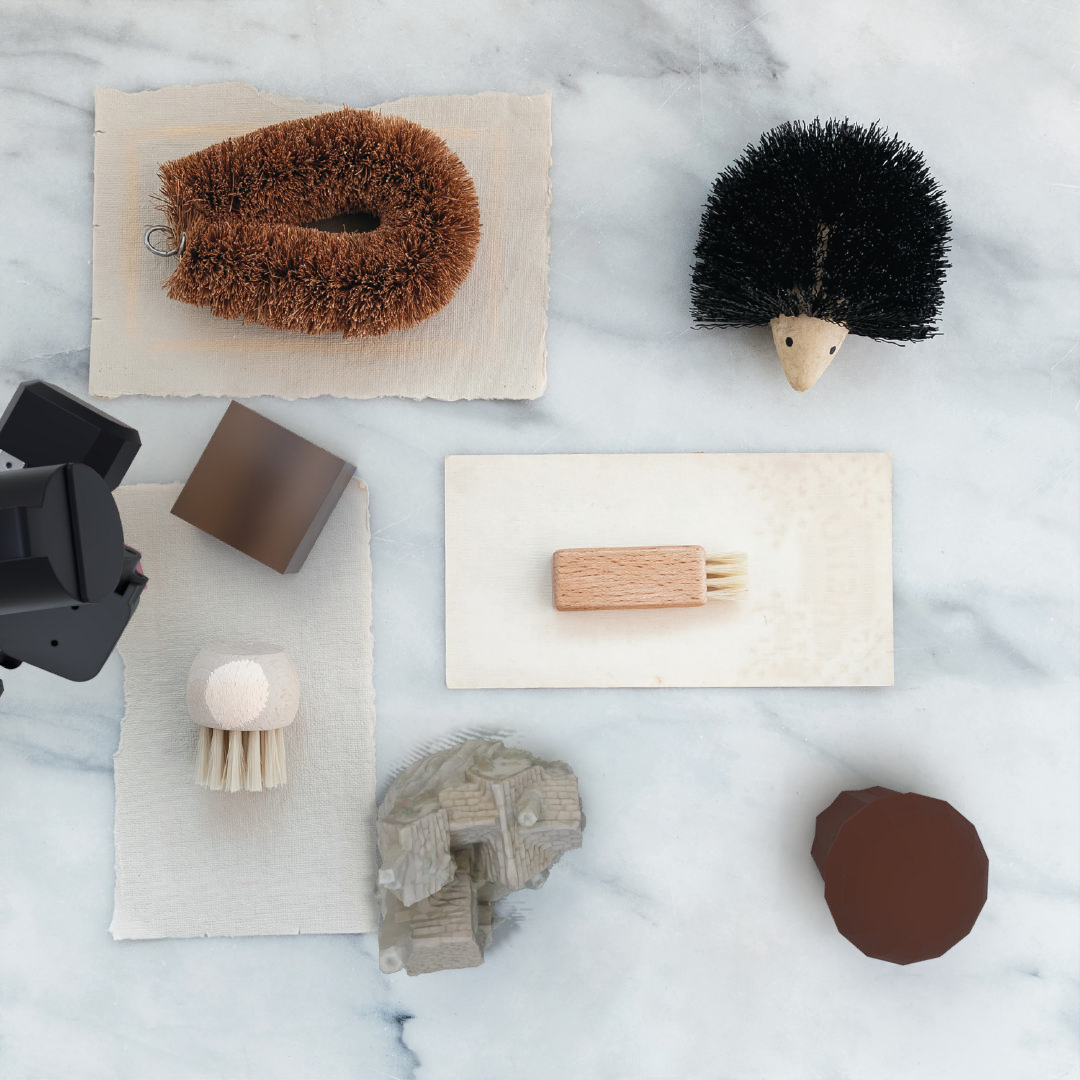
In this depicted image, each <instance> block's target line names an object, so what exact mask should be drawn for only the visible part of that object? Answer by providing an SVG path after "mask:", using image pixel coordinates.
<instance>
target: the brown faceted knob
mask: <svg viewBox="0 0 1080 1080" xmlns="http://www.w3.org/2000/svg"><path fill="white" fill-rule="evenodd" d="M814 830H815V831H814V838H813V841H812V846H811V849H810V855H811V857H812V859H813V861H814V863H815V865H816V868H817V869H818V871H819V874H820V876H821V878H822V881H823V882H824V891H823V892H824V893H823V898H824V900H825V903H826V905H827V907H828V910H829V913H830V915H831V917H832V920H833V922H834V924H835V927H836V929H837V931H838V933H839V934H840V935H841V936H842V937H844V938H845V939H846V940H847V941H848V942H849V943H851V944H852V945H853V946H854V947H855V948H856V949H857V950H859V951H860V952H861V953H862V954H864V955H865V957H867V958H871V959H876V960H879V961H882V962H887V963H891V964H895V965H899V966H908V965H912V964H916V963H921V962H925V961H929V960H934V959H939V958H941V957H943V956H944V955H945V954H947V953H948V952H949V951H951V949H952V948H953V947H955V946H956V945H957V944H959V943H960V942H961V941H962V940H964V939H965V938H966V937H967V936H968V935H970V934H971V932H972V930H973V928H974V926H975V924H976V922H977V920H978V918H979V916H980V915H981V912H982V911H983V908H984V906H985V905H986V902H987V900H988V897H989V896H988V895H989V894H988V893H989V870H990V859H989V857H988V855H987V852H986V850H985V848H984V845H983V842H982V840H981V838H980V835H979V833H978V830H977V828H976V826H975V824H974V823H972V822H971V821H970V820H969V819H968V818H966V816H964V814H962V813H961V812H960V811H958V809H957V808H955V807H954V806H953V805H952V804H951V803H950V802H948V801H947V800H944V799H940V798H936V797H932V796H928V795H924V794H920V793H916V792H913V791H908V792H900V791H898V790H893V789H890V788H887V787H883V786H879V785H876V786H870V787H867V788H863V789H855V790H842V791H840V793H839V794H838V796H837V797H836V798H835V799H834V800H833V802H831V804H830V805H829V806H828V807H826V808H825V809H824V810H823V811H821V812H819V814H818V815H817V816H816V817H815V829H814Z"/></svg>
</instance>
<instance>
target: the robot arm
mask: <svg viewBox="0 0 1080 1080" xmlns="http://www.w3.org/2000/svg"><path fill="white" fill-rule="evenodd" d="M142 446H143V444H142V440H141V437H140V432H139V430H138V429H136V428H134V427H132V426H130V425H129V424H127V423H125V422H123V421H121V420H120V419H118V418H116V417H114V416H112V414H109V413H107V412H105V411H104V410H102V409H100V408H98V407H96V406H94V405H93V404H91V403H89V402H88V401H85V400H84V399H82V398H80V397H78V396H76V395H75V394H73V393H71V392H69V391H68V390H66V389H64V388H62V387H61V386H59V385H57V384H55V383H51V382H48V381H45V380H42V379H40V378H35V379H32V380H26V381H21V382H20V383H19V384H18V386H17V388H16V390H15V392H14V394H13V395H12V397H11V399H10V401H9V403H8V404H7V406H6V408H5V410H3V413H2V415H1V417H0V450H1V452H0V667H2V668H3V669H6V670H9V671H11V670H17V669H18V668H19V667H21V665H22V664H24V663H25V664H27V665H30V666H33V667H35V668H38V669H40V670H43V671H45V672H48V673H50V674H53V675H55V676H58V677H61V678H63V679H65V680H68V681H71V682H74V683H84V682H85V683H86V682H88V681H91V680H93V679H94V678H96V677H97V676H98V675H99V674H100V672H101V670H102V669H103V667H104V666H105V664H106V663H107V661H108V660H109V658H110V657H111V655H112V653H113V652H114V650H115V648H116V647H117V644H118V643H119V641H120V639H121V638H122V635H123V633H125V630H126V629H127V627H128V625H129V623H130V621H131V620H132V618H133V616H134V614H135V613H136V610H137V609H138V607H139V605H140V602H141V601H140V600H141V595H142V593H143V591H145V590H144V588H145V586H146V584H148V582H149V580H150V578H149V577H148V576H146V575H145V574H144V575H143V574H141V573H139V572H138V571H137V569H136V567H137V565H138V563H139V561H140V562H141V560H142V554H140V553H139V552H138V551H139V550H138V551H136V550H137V549H136V548H134V547H132V546H131V547H132V548H131V547H129V546H130V545H129V546H126V545H124V543H125V535H124V534H125V533H124V527H123V523H122V519H121V515H120V510H119V508H118V505H117V502H116V500H115V497H114V495H113V492H114V491H115V490H116V489H117V488H119V487H120V485H121V483H122V481H123V480H124V478H125V476H126V475H127V473H128V471H129V470H130V469H129V468H130V467H131V466H132V463H133V462H134V461H135V459H136V456H137V454H138V453H139V451H140V449H141V447H142ZM133 548H134V549H133ZM135 549H136V550H135ZM4 686H5V685H4V682H3V679H2V678H0V698H2V695H3V693H4V691H5V687H4Z"/></svg>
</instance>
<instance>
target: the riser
mask: <svg viewBox="0 0 1080 1080" xmlns="http://www.w3.org/2000/svg"><path fill="white" fill-rule="evenodd" d="M204 448H205V449H204V450H203V451H202V454H201V455H200V457H199V459H198V461H197V463H196V465H195V466H194V468H193V470H192V471H191V473H190V475H189V477H188V478H187V481H186V482H185V484H184V485H183V488H182V489H181V491H180V493H179V495H178V496H177V499H176V500H175V502H174V504H173V506H172V507H171V509H170V510H169V513H170V514H172V515H173V516H175V517H177V518H179V519H180V520H183V521H184V522H187V523H188V524H190V525H192V527H195V528H197V529H199V530H200V531H202V532H205V533H206V534H208V535H209V536H212V537H213V538H215V539H217V540H219V541H220V542H222V543H225V544H227V546H230V547H232V548H233V549H235V550H237V551H238V552H241V553H242V554H245V556H248V557H250V558H252V559H254V560H255V561H256V562H257V561H258V562H259V563H261V564H263V565H264V566H266V567H268V568H270V569H272V570H274V571H275V572H277V573H279V574H281V575H291V574H299V573H300V571H301V570H302V568H303V566H304V564H305V562H306V561H307V558H309V555H310V554H311V552H312V550H313V548H314V546H315V544H316V542H317V541H318V539H319V537H320V535H321V533H322V531H323V530H324V528H325V526H326V525H327V522H328V521H329V520H330V517H331V515H332V513H333V512H334V510H335V508H336V506H337V505H338V503H339V501H340V499H341V497H342V495H343V494H344V493H345V490H346V489H347V487H348V485H349V483H350V481H351V480H352V477H353V476H354V474H355V473H356V471H357V469H358V467H357V466H356V465H354V464H352V463H350V462H349V461H347V460H345V459H343V458H341V457H339V456H338V455H336V454H335V453H333V452H330V451H328V450H327V449H325V448H323V447H321V446H320V445H317V444H316V443H314V442H312V441H310V440H308V439H307V438H305V437H303V436H301V435H299V434H297V433H296V432H294V431H292V430H291V429H288V428H287V427H285V426H283V425H281V424H280V423H278V422H276V421H274V420H272V419H271V418H269V417H267V416H265V415H263V414H261V413H259V412H257V411H255V410H254V409H252V408H251V407H248V406H246V405H245V404H242V403H240V402H238V401H237V400H234V399H232V400H231V401H230V403H229V406H228V407H227V409H226V411H225V413H223V416H222V417H221V419H220V421H219V423H218V425H217V427H216V428H215V430H214V432H213V434H212V435H211V438H210V439H209V441H208V442H207V444H206V447H204Z"/></svg>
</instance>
